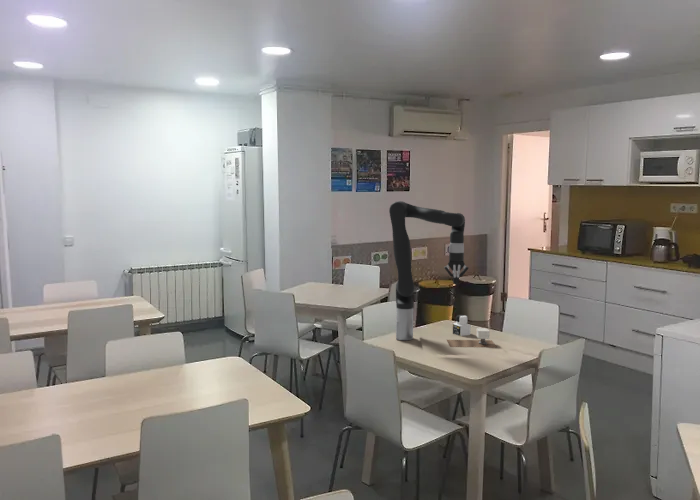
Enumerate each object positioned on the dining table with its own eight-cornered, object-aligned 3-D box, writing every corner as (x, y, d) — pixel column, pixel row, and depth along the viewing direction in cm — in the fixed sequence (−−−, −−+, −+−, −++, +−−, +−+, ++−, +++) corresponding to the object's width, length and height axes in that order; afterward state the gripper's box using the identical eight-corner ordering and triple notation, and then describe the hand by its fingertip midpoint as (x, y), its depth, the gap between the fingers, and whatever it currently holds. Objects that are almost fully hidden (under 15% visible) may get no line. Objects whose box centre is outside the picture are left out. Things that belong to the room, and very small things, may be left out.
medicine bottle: (452, 335, 313) (452, 314, 312) (462, 334, 316) (463, 313, 315) (460, 338, 307) (460, 317, 305) (470, 337, 310) (471, 316, 308)
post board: (449, 349, 285) (450, 333, 284) (446, 342, 299) (446, 326, 298) (497, 350, 284) (497, 334, 283) (491, 343, 298) (492, 327, 297)
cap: (478, 338, 288) (478, 330, 288) (476, 335, 294) (476, 328, 293) (489, 338, 288) (489, 331, 287) (487, 335, 293) (487, 328, 293)
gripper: (444, 252, 287) (444, 285, 289) (470, 252, 287) (469, 285, 288) (442, 250, 295) (442, 283, 297) (468, 250, 294) (467, 283, 296)
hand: (455, 284), depth 292 cm, fingers closed
